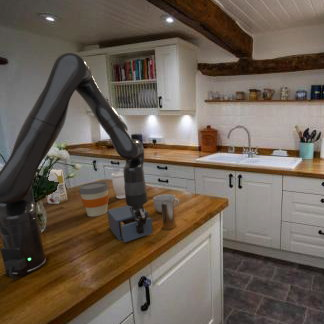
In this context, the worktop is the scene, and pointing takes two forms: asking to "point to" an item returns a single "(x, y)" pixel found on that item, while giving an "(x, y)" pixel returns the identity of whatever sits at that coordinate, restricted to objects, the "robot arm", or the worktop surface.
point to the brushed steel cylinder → (168, 214)
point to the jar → (118, 184)
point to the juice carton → (60, 193)
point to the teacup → (164, 197)
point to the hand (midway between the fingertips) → (140, 232)
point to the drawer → (134, 229)
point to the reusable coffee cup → (95, 198)
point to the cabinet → (119, 218)
